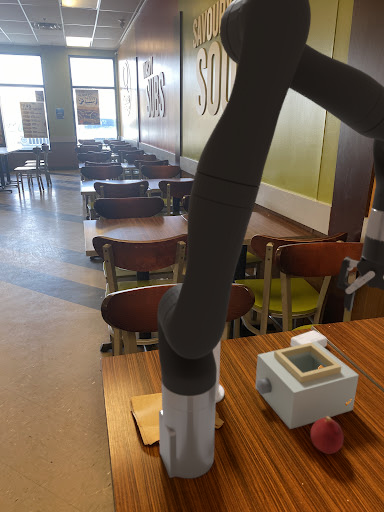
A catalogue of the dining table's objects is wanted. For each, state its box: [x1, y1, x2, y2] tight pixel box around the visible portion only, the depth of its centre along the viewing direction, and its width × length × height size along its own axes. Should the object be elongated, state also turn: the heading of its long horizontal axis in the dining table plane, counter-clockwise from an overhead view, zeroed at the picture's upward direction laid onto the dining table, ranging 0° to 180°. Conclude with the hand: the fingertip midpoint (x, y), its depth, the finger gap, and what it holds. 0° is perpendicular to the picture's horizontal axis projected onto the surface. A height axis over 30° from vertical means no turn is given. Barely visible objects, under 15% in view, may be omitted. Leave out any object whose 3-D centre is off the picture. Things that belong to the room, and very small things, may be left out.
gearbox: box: [254, 342, 360, 430], centre depth 87 cm, size 18×14×10 cm
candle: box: [213, 338, 225, 404], centre depth 86 cm, size 7×7×25 cm
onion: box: [310, 416, 345, 455], centre depth 73 cm, size 6×6×8 cm
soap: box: [290, 330, 328, 348], centre depth 109 cm, size 9×6×3 cm, turn 120°
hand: (372, 316), depth 76 cm, fingers open, 8 cm apart
